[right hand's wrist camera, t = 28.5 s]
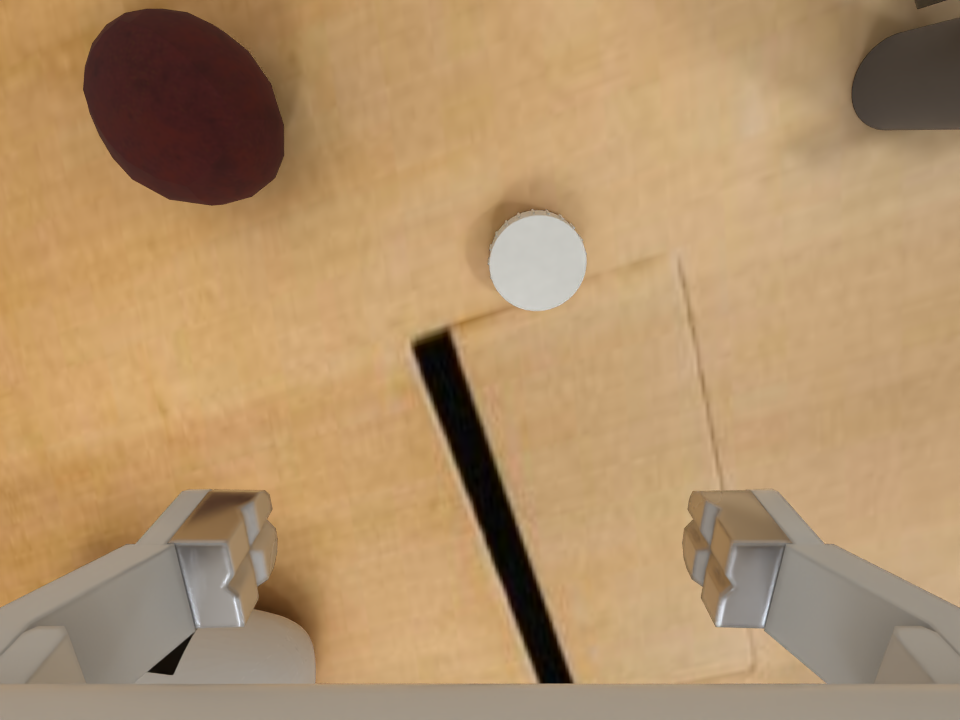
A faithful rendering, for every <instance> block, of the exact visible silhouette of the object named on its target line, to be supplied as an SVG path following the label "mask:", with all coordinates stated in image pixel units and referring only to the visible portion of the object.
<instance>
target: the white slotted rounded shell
mask: <svg viewBox="0 0 960 720" xmlns="http://www.w3.org/2000/svg"><path fill="white" fill-rule="evenodd" d="M195 629H196V631H195V632H194V633H193V634H191V635H190V636H189V637H188V638H187V639H186V640H184V641H183V642H182V643H181V644H180V645H178V646H177V647H176V648H175V649H174V650H172V651H171V652H170V653H169V654H168V655H167V656H165V657H164V658H163V659H162V660H161V661H159V662H158V663H157V664H156V665H155V666H153V667H152V668H151V669H150V670H149V671H148V672H146V673H145V674H144V675H143V676H142V677H140V678H139V679H138V680H137V681H136V682H134V683H133V684H315V681H316V664H315V653H314V648H313V644H312V641H311V639H310V637H309V635H308V634H307V632H306V631H305V630H304V629H303V628H302V627H301V626H300V625H298V624H297V623H295V622H294V621H292V620H290V619H288V618H285V617H283V616H280V615H277V614H273V613H269V612H265V611H261V610H256V609H253V611H252V613H251V615H250V617H249V619H248V621H247V623H246V625H245V627H225V628H195Z"/></svg>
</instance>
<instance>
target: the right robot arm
mask: <svg viewBox="0 0 960 720" xmlns="http://www.w3.org/2000/svg"><path fill="white" fill-rule="evenodd" d="M271 511H272V504H271V499H270V495H269V494H268V493H267V492H266V491H265V490H224V489H214V490H212V489H188V490H185V491H182V492H181V493H180V494H179V495H178V496H177V498H176V499H175V500H174V501H173V502H172V503H171V504H170V505H169V507H168V508H167V509H166V510H165V511H164V512H163V513H162V514H161V516H160V517H159V518H158V519H157V520H156V521H155V522H154V523H153V525H152V526H151V527H150V528H149V529H148V530H147V531H146V533H145V534H144V535H143V536H142V537H141V538H140V539H139V540H138V542H137V543H136V544H126V545H124V546H122V547H120V548H118V549H116V550H114V551H112V552H110V553H108V554H106V555H104V556H102V557H100V558H98V559H96V560H94V561H92V562H90V563H88V564H86V565H84V566H82V567H80V568H78V569H76V570H74V571H72V572H70V573H68V574H66V575H64V576H62V577H60V578H58V579H56V580H54V581H52V582H50V583H48V584H46V585H44V586H42V587H40V588H38V589H36V590H34V591H32V592H30V593H28V594H26V595H24V596H23V597H21V598H19V599H17V600H15V601H13V602H11V603H9V604H7V605H5V606H3V607H1V608H0V720H960V608H959V607H957V606H955V605H953V604H951V603H949V602H947V601H945V600H943V599H941V598H939V597H937V596H935V595H933V594H931V593H929V592H927V591H925V590H923V589H921V588H919V587H917V586H915V585H913V584H911V583H909V582H907V581H906V580H904V579H902V578H900V577H898V576H896V575H894V574H892V573H890V572H888V571H886V570H884V569H882V568H880V567H878V566H876V565H874V564H872V563H870V562H868V561H866V560H864V559H862V558H860V557H858V556H856V555H854V554H852V553H850V552H848V551H846V550H844V549H842V548H840V547H838V546H836V545H834V544H824V543H823V542H822V540H821V539H820V538H819V537H818V536H817V535H816V534H815V532H814V531H813V530H812V529H811V528H810V527H809V526H808V525H807V523H806V522H805V521H804V520H803V519H802V518H801V517H800V516H799V514H798V513H797V512H796V511H795V510H794V509H793V508H792V507H791V505H790V504H789V503H788V502H787V501H786V500H785V499H784V498H783V496H782V495H781V494H780V493H779V492H778V491H775V490H773V489H752V490H730V491H693V492H692V494H691V496H690V498H689V504H688V511H689V513H690V514H691V516H692V518H693V520H692V521H691V522H690V523H689V524H688V525H687V526H686V527H685V528H684V535H683V543H682V544H683V555H684V561H685V564H686V568H687V570H688V572H689V574H690V576H691V579H692V580H694V581H695V582H697V583H698V584H699V585H701V586H702V587H703V589H702V594H701V599H702V601H703V603H704V605H705V607H706V609H707V611H708V613H709V615H710V617H711V619H712V621H713V623H714V625H715V626H716V627H734V628H765V629H764V631H765V632H766V633H768V634H769V635H770V636H771V637H772V638H774V639H775V640H776V641H777V642H778V643H779V644H781V645H782V646H783V647H784V648H785V649H787V650H788V651H789V652H790V653H791V654H793V655H794V656H795V657H796V658H797V659H798V660H800V661H801V662H802V663H803V664H804V665H806V666H807V667H808V668H809V669H810V670H811V671H813V672H814V673H815V674H816V675H817V676H819V677H820V678H821V679H822V680H823V681H825V682H826V683H827V684H133V683H134V682H136V681H137V680H138V679H139V678H140V677H142V676H143V675H144V674H145V673H146V672H148V671H149V670H150V669H151V668H152V667H153V666H155V665H156V664H157V663H158V662H159V661H161V660H162V659H163V658H164V657H165V656H167V655H168V654H169V653H170V652H171V651H172V650H174V649H175V648H176V647H177V646H178V645H180V644H181V643H182V642H183V641H184V640H186V639H187V638H188V637H189V636H190V635H191V634H193V633H194V632H195V631H196V629H195V628H225V627H245V625H246V623H247V621H248V619H249V617H250V615H251V613H252V611H253V609H254V607H255V605H256V603H257V601H258V599H259V594H258V588H257V587H258V586H259V585H261V584H262V583H263V582H265V581H266V580H268V579H269V576H270V574H271V572H272V570H273V568H274V564H275V560H276V555H277V534H276V528H275V527H274V526H273V525H272V524H271V523H270V522H269V521H268V520H267V518H268V516H269V515H270V513H271Z"/></svg>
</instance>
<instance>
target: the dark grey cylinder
mask: <svg viewBox="0 0 960 720" xmlns="http://www.w3.org/2000/svg"><path fill="white" fill-rule="evenodd" d="M852 102H853V106H854V109H855V111H856V113H857V115H858V117H859V118H860V119H861V120H862V121H863V122H864V123H865V124H866V125H868V126H870V127H872V128H875V129H879V130H948V129H960V18H956V19H952V20H948V21H944V22H940V23H936V24H932V25H928V26H925V27H921V28H917V29H913V30H909V31H905V32H901V33H898V34H895V35H892V36H890V37H888V38H886V39H885V40H883V41H882V42H880V43H879V44H878V45H877V46H875V47H874V48H873V49H872V50H871V51H870V52H869V54H868V55H867V56H866V57H865V59H864V60H863V62H862V63H861V65H860V67H859V69H858V70H857V73H856V75H855V78H854V82H853V87H852Z"/></svg>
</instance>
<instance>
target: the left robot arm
mask: <svg viewBox="0 0 960 720" xmlns="http://www.w3.org/2000/svg"><path fill="white" fill-rule="evenodd" d="M942 1H946V0H915V3H916V7H917V9H919V8H922V7H926V6H929V5H932V4H936V3H939V2H942Z"/></svg>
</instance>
